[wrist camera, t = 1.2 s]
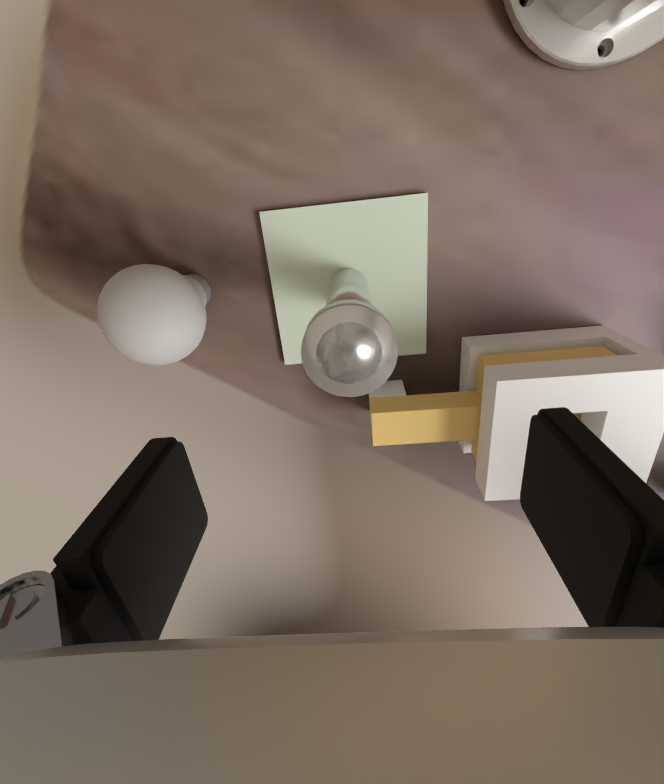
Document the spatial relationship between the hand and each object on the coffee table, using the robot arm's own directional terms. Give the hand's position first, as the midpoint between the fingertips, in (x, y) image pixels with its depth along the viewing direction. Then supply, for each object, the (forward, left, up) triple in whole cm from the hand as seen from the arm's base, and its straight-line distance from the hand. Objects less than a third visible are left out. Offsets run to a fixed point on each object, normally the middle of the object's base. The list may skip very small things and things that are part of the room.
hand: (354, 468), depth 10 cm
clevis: (+10, +11, -22) cm, 27 cm away
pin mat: (0, 0, -22) cm, 22 cm away
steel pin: (0, 0, -22) cm, 22 cm away
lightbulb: (-1, -12, -23) cm, 26 cm away
